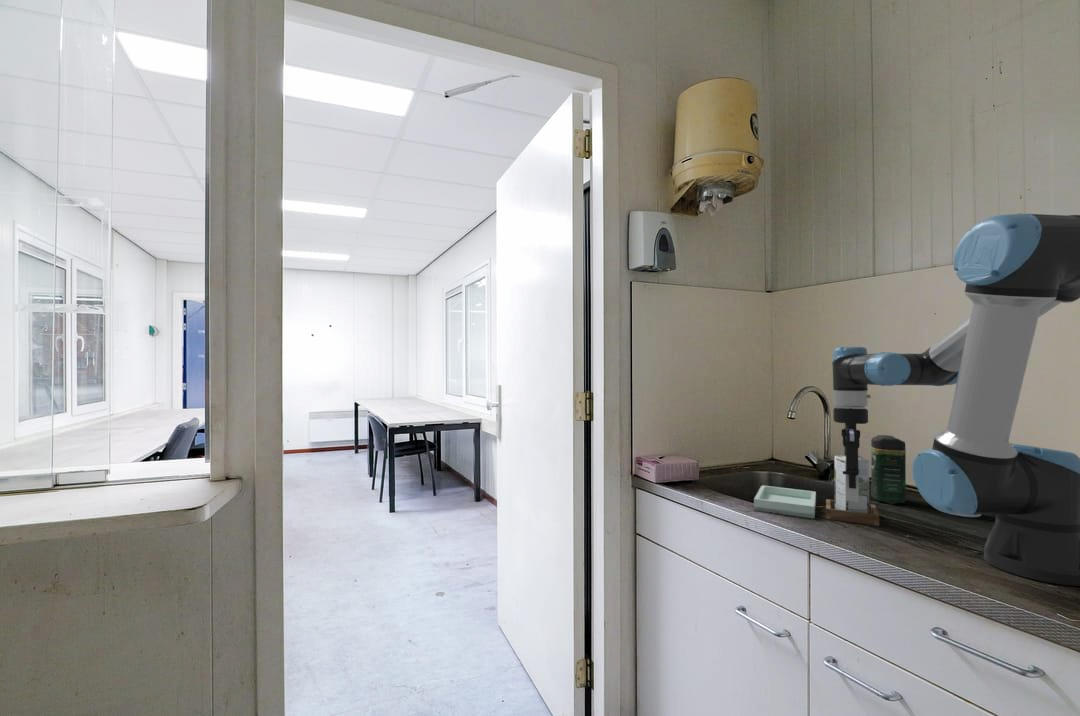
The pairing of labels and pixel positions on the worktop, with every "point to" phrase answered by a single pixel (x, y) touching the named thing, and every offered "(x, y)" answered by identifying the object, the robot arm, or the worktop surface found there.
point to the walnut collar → (852, 514)
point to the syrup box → (841, 485)
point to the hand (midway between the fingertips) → (851, 497)
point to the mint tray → (786, 501)
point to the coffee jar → (888, 469)
